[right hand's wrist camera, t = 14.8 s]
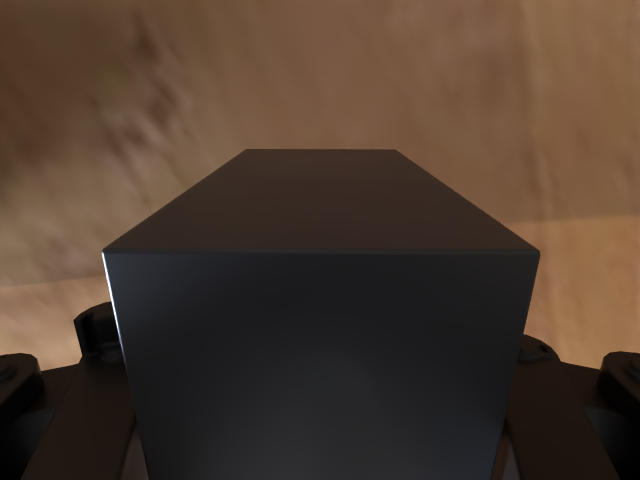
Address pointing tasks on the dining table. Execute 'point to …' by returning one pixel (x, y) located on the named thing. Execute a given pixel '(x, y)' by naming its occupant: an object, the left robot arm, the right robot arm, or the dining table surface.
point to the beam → (320, 322)
